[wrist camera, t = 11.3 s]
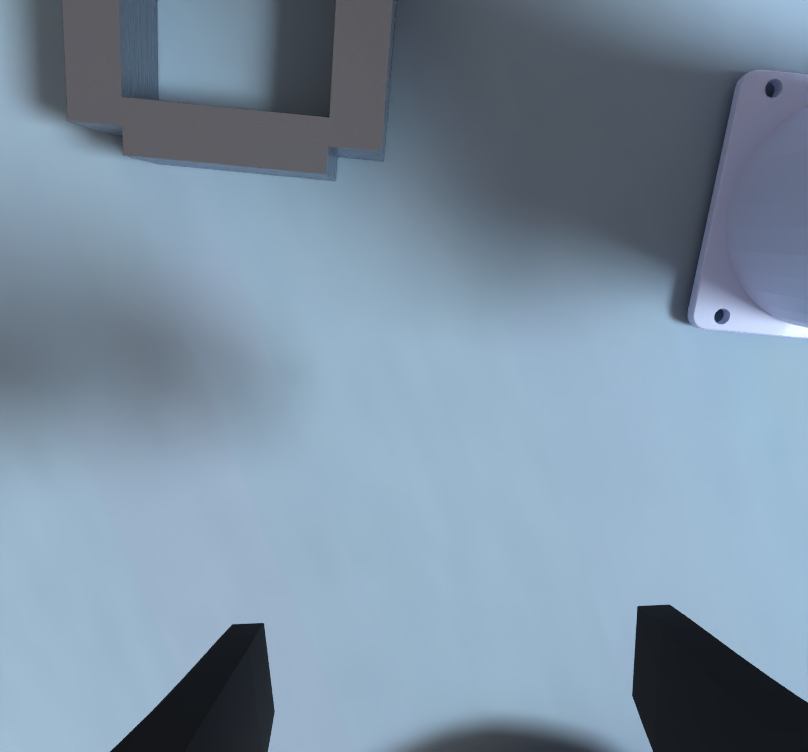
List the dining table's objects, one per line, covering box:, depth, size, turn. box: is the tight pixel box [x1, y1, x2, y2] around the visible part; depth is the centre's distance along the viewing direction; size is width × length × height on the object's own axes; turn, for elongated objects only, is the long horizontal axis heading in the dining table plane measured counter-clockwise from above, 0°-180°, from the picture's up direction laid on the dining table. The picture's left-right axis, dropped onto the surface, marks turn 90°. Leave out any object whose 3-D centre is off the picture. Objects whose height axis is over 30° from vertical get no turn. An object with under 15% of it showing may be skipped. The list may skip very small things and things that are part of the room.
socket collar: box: [62, 0, 396, 181], centre depth 17 cm, size 9×9×2 cm
